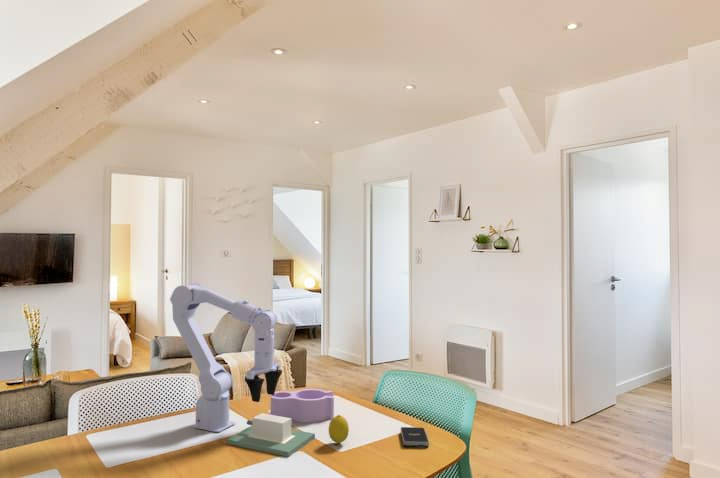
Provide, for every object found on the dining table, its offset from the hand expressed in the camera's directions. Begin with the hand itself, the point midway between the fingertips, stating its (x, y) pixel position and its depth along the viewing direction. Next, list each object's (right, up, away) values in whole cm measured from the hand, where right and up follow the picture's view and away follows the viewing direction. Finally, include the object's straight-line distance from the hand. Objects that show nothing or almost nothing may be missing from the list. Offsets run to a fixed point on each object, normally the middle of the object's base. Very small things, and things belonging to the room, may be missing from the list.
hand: (263, 397), depth 146 cm
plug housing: (+3, -8, -8) cm, 12 cm away
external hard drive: (+44, -11, -6) cm, 46 cm away
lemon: (+23, -10, -10) cm, 27 cm away
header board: (+4, -9, -8) cm, 13 cm away
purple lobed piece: (+10, -10, +13) cm, 19 cm away
